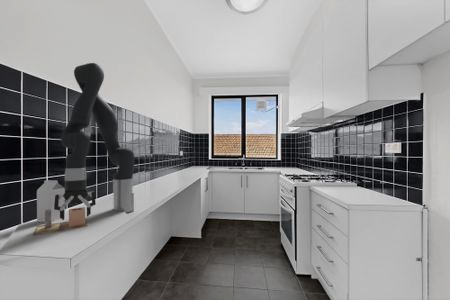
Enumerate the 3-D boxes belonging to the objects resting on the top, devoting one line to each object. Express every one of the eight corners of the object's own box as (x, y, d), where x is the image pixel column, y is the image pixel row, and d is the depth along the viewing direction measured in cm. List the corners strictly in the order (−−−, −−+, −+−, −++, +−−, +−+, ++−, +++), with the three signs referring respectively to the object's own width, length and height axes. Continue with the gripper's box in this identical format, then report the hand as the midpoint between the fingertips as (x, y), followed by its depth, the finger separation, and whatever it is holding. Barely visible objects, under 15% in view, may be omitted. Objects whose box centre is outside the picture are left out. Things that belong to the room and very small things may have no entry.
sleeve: (84, 220, 97) (84, 207, 97) (85, 224, 92) (85, 209, 92) (69, 223, 94) (68, 209, 94) (68, 226, 89) (68, 212, 89)
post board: (86, 221, 100) (86, 201, 100) (87, 229, 90) (87, 207, 90) (37, 229, 91) (37, 207, 91) (32, 240, 80) (32, 214, 80)
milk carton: (50, 225, 96) (49, 181, 96) (36, 224, 97) (36, 181, 97) (65, 220, 103) (64, 179, 103) (52, 219, 104) (52, 179, 104)
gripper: (94, 177, 100) (94, 213, 100) (55, 179, 92) (55, 218, 92) (96, 178, 94) (96, 217, 93) (53, 181, 86) (53, 223, 86)
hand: (75, 217), depth 93 cm, fingers open, 8 cm apart
